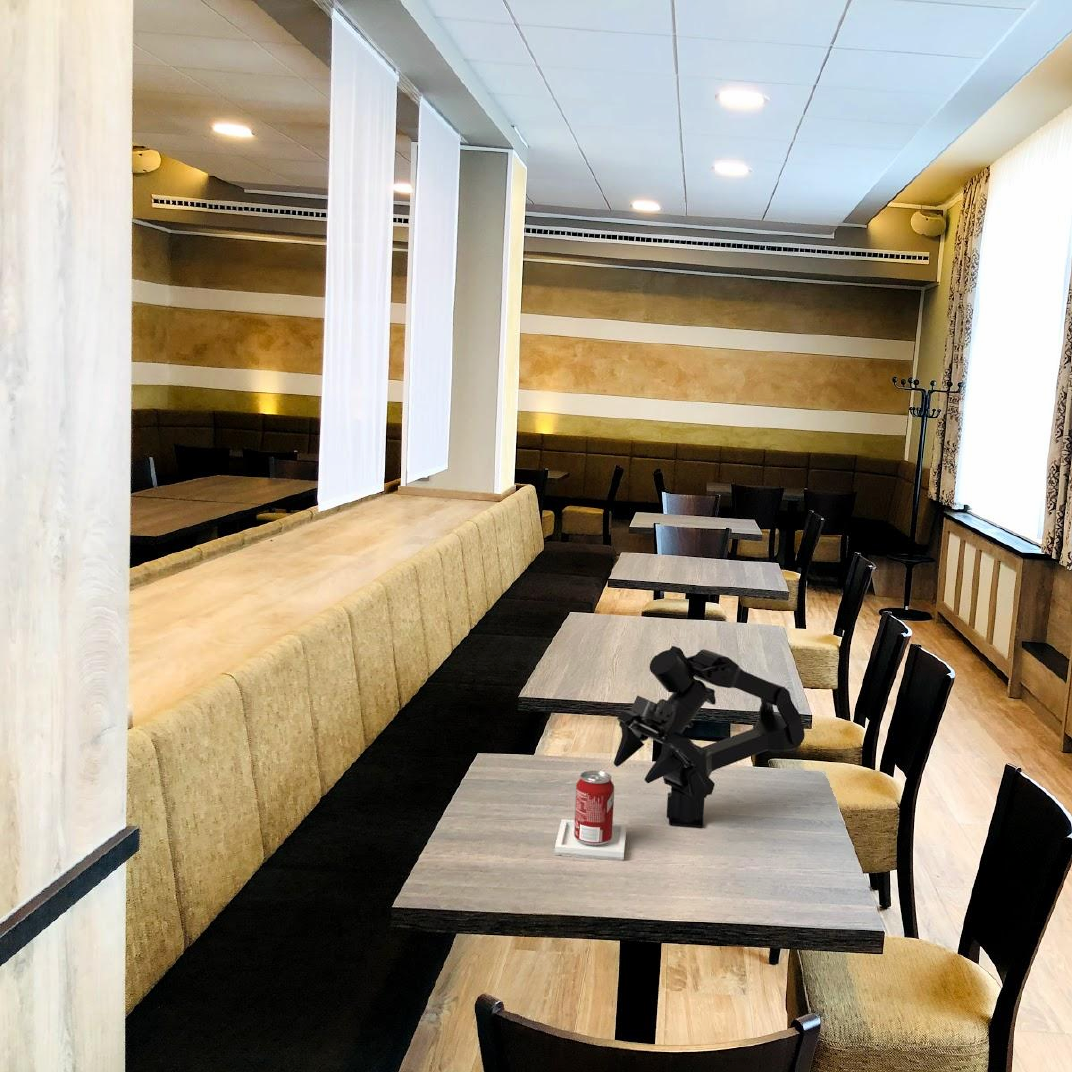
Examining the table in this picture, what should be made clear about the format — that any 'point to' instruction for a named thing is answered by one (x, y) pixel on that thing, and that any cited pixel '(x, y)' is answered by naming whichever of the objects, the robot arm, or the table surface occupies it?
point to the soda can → (594, 808)
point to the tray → (575, 848)
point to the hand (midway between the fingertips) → (630, 773)
